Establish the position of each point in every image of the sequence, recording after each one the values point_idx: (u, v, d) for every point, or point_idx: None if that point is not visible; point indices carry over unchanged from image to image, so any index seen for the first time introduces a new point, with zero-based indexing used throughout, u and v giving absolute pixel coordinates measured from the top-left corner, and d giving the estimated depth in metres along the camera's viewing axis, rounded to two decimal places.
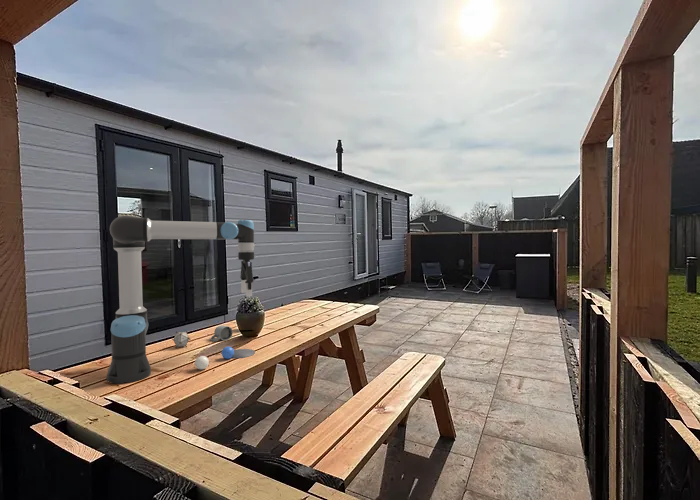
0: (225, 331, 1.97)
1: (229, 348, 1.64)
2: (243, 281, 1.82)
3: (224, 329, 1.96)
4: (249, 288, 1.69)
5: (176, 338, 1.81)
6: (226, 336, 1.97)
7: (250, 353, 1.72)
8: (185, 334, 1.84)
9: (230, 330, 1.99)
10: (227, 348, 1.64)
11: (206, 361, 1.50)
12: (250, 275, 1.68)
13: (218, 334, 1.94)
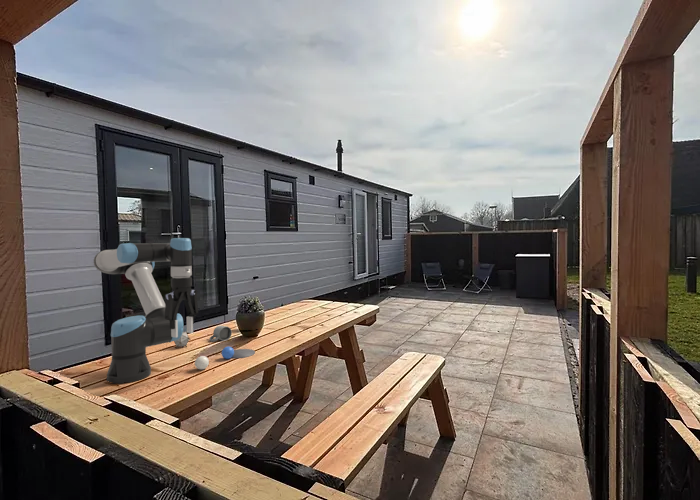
0: (224, 331, 1.96)
1: (229, 348, 1.64)
2: (188, 318, 1.45)
3: (223, 329, 1.96)
4: (170, 327, 1.38)
5: None
6: (225, 336, 1.97)
7: (250, 353, 1.72)
8: (185, 334, 1.84)
9: (229, 330, 1.99)
10: (227, 348, 1.64)
11: (206, 361, 1.50)
12: (167, 312, 1.36)
13: (217, 334, 1.94)
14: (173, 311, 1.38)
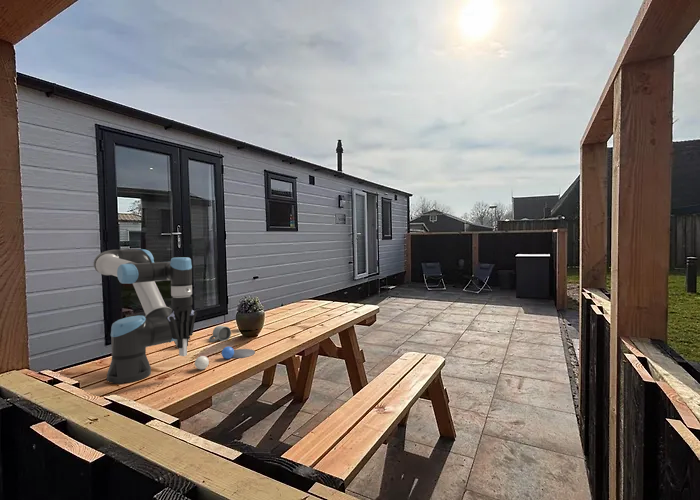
0: (223, 331, 1.96)
1: (229, 348, 1.64)
2: None
3: (222, 329, 1.96)
4: (178, 346, 1.41)
5: None
6: (224, 336, 1.97)
7: (250, 353, 1.72)
8: None
9: (228, 330, 1.99)
10: (227, 348, 1.64)
11: (206, 361, 1.50)
12: (173, 333, 1.38)
13: (216, 334, 1.93)
14: (179, 331, 1.40)
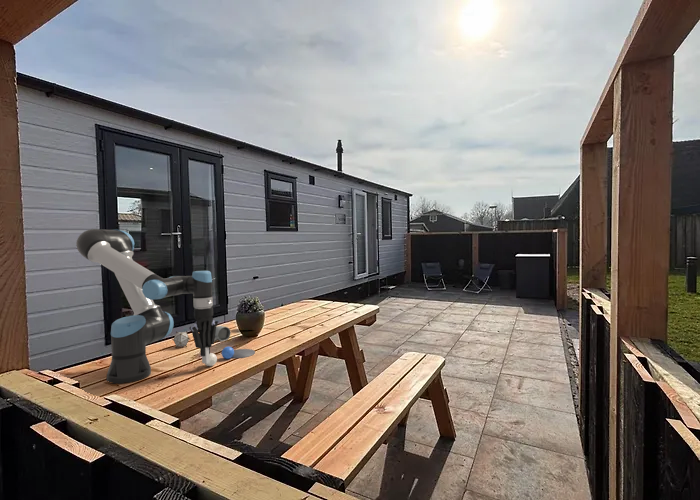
0: (223, 331, 1.96)
1: (229, 348, 1.64)
2: None
3: (222, 329, 1.96)
4: (201, 354, 1.50)
5: (176, 338, 1.81)
6: (224, 336, 1.96)
7: (250, 353, 1.72)
8: (185, 334, 1.84)
9: (228, 330, 1.98)
10: (227, 348, 1.64)
11: (216, 359, 1.55)
12: (196, 342, 1.48)
13: (216, 334, 1.93)
14: (201, 340, 1.50)
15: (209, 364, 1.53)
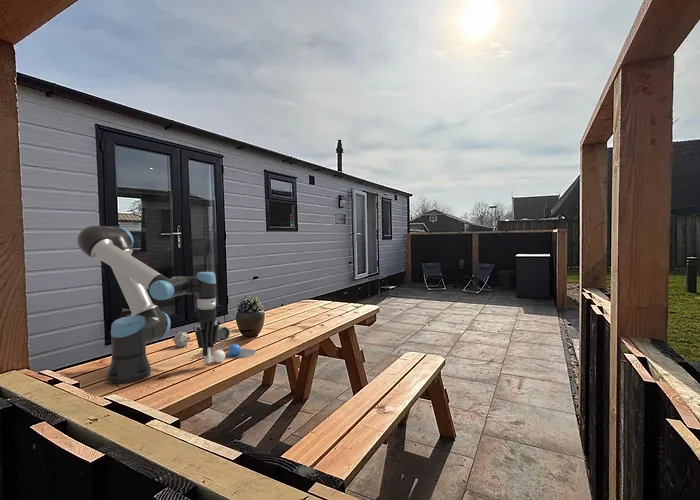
0: (222, 332, 1.95)
1: None
2: None
3: (221, 330, 1.95)
4: (203, 354, 1.53)
5: (176, 338, 1.81)
6: (223, 337, 1.96)
7: (250, 353, 1.72)
8: (185, 334, 1.84)
9: (227, 331, 1.98)
10: None
11: (223, 358, 1.59)
12: (199, 342, 1.50)
13: None
14: (204, 340, 1.52)
15: (219, 352, 1.59)
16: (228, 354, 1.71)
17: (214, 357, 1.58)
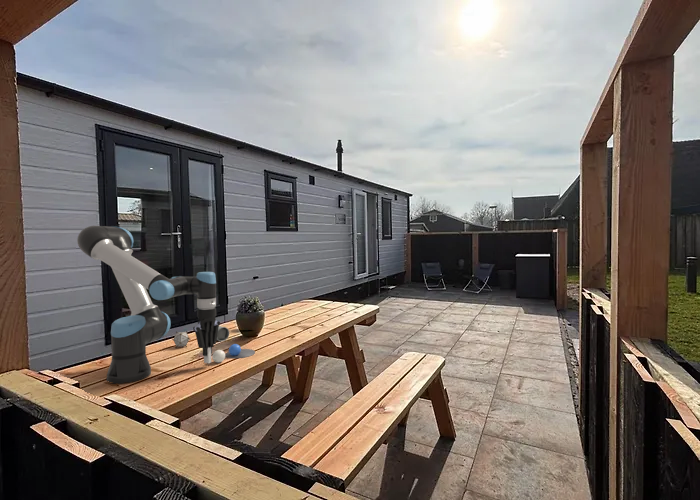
0: (222, 332, 1.95)
1: None
2: None
3: (221, 330, 1.95)
4: (203, 354, 1.53)
5: (176, 338, 1.81)
6: (223, 337, 1.96)
7: (250, 353, 1.72)
8: (185, 334, 1.84)
9: (227, 331, 1.98)
10: None
11: (223, 358, 1.59)
12: (199, 342, 1.50)
13: None
14: (204, 340, 1.52)
15: (219, 352, 1.59)
16: (228, 354, 1.71)
17: (214, 357, 1.58)
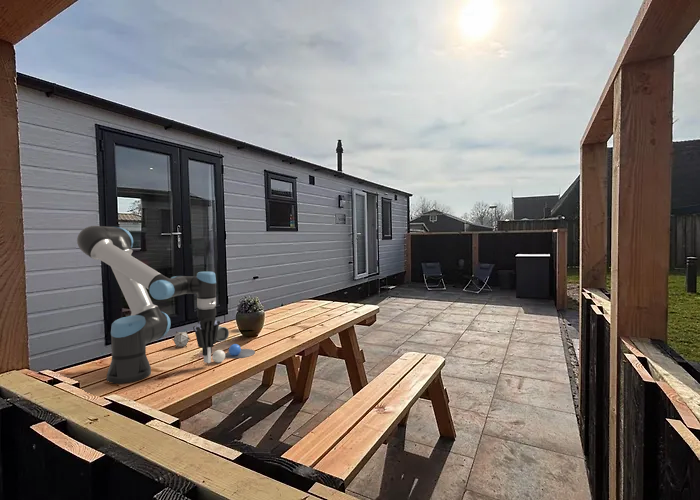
0: (221, 332, 1.95)
1: None
2: None
3: (220, 330, 1.95)
4: (203, 354, 1.53)
5: (176, 338, 1.81)
6: (222, 337, 1.96)
7: (250, 353, 1.72)
8: (185, 334, 1.84)
9: (226, 331, 1.98)
10: None
11: (223, 358, 1.59)
12: (199, 341, 1.50)
13: None
14: (204, 340, 1.52)
15: (219, 352, 1.59)
16: (228, 354, 1.71)
17: (214, 357, 1.58)
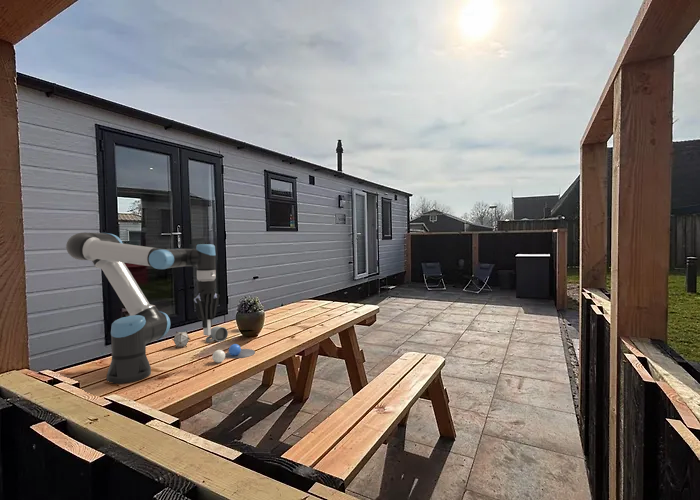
0: (220, 332, 1.95)
1: None
2: None
3: (219, 330, 1.94)
4: (203, 326, 1.52)
5: (176, 338, 1.81)
6: (221, 337, 1.95)
7: (250, 353, 1.72)
8: (185, 334, 1.84)
9: (225, 331, 1.97)
10: None
11: (223, 358, 1.59)
12: (199, 313, 1.50)
13: (213, 335, 1.92)
14: (203, 312, 1.52)
15: (219, 352, 1.59)
16: (228, 354, 1.71)
17: (214, 357, 1.58)
